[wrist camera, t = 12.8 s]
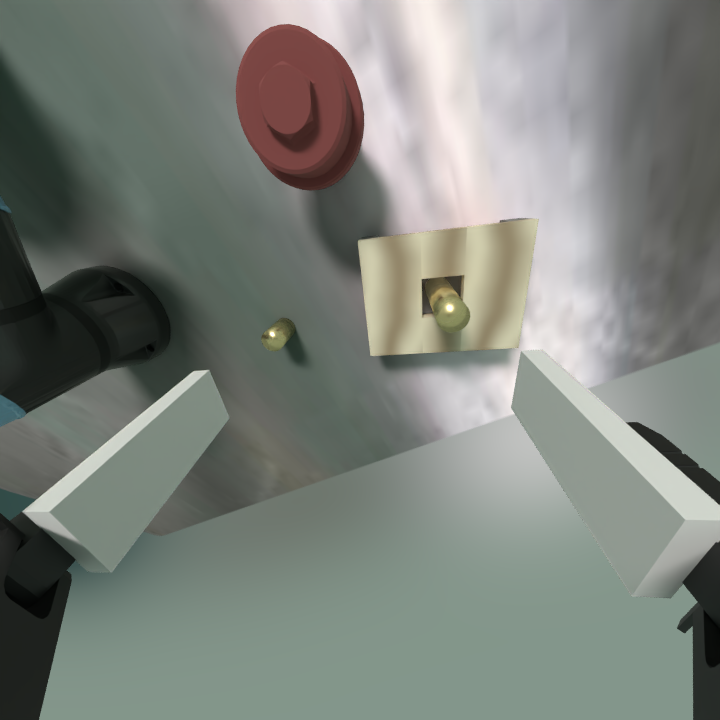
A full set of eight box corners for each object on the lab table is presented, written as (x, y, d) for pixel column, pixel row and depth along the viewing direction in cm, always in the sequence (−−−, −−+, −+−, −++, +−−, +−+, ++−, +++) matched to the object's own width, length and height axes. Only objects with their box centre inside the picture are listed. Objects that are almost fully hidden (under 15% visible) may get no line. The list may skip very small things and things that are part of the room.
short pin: (278, 337, 42) (264, 351, 38) (273, 318, 41) (258, 331, 36) (297, 336, 42) (285, 350, 37) (292, 317, 40) (279, 330, 36)
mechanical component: (338, 52, 27) (387, 159, 30) (262, 123, 30) (314, 212, 33) (299, -58, 16) (381, 129, 19) (186, 71, 19) (275, 211, 23)
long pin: (424, 299, 37) (436, 333, 26) (424, 276, 35) (436, 303, 25) (448, 297, 36) (469, 331, 26) (448, 274, 35) (471, 300, 24)
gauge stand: (373, 340, 40) (370, 355, 36) (362, 237, 34) (357, 240, 30) (504, 332, 38) (518, 348, 33) (518, 218, 31) (538, 218, 27)
